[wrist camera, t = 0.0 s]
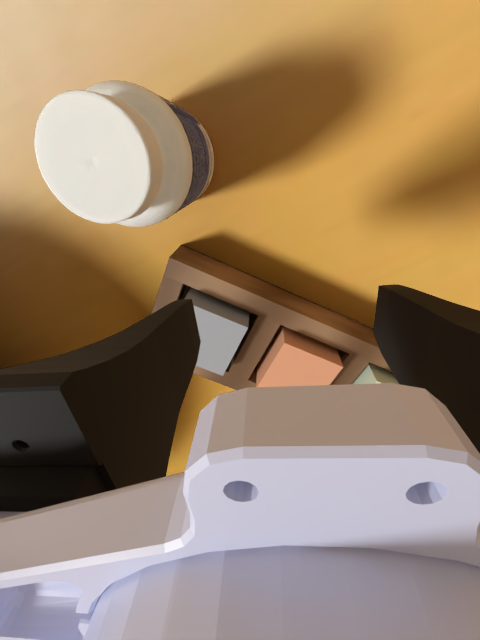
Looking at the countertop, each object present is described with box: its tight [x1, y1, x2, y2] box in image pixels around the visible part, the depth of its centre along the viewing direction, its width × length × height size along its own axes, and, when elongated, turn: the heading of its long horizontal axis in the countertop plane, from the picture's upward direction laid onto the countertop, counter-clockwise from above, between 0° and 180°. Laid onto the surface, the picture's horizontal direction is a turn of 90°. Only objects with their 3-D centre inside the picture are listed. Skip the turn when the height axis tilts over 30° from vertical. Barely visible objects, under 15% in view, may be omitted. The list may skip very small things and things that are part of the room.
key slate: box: [185, 287, 250, 376], centre depth 21 cm, size 4×4×2 cm
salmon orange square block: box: [256, 326, 343, 387], centre depth 22 cm, size 4×4×2 cm
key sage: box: [352, 362, 399, 384], centre depth 23 cm, size 4×4×2 cm
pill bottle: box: [35, 81, 214, 227], centre depth 14 cm, size 5×5×10 cm
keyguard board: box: [152, 245, 392, 390], centre depth 23 cm, size 29×8×3 cm, turn 67°
